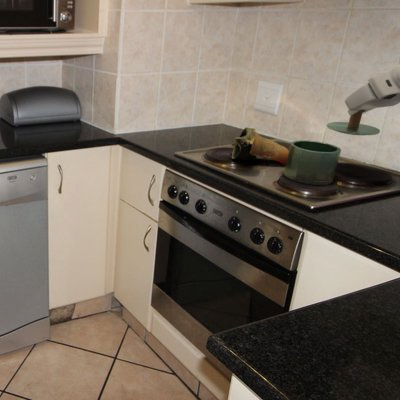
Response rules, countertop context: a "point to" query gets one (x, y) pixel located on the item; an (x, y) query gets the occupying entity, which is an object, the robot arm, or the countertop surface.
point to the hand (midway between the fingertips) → (354, 112)
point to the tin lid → (353, 126)
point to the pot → (257, 147)
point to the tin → (312, 162)
